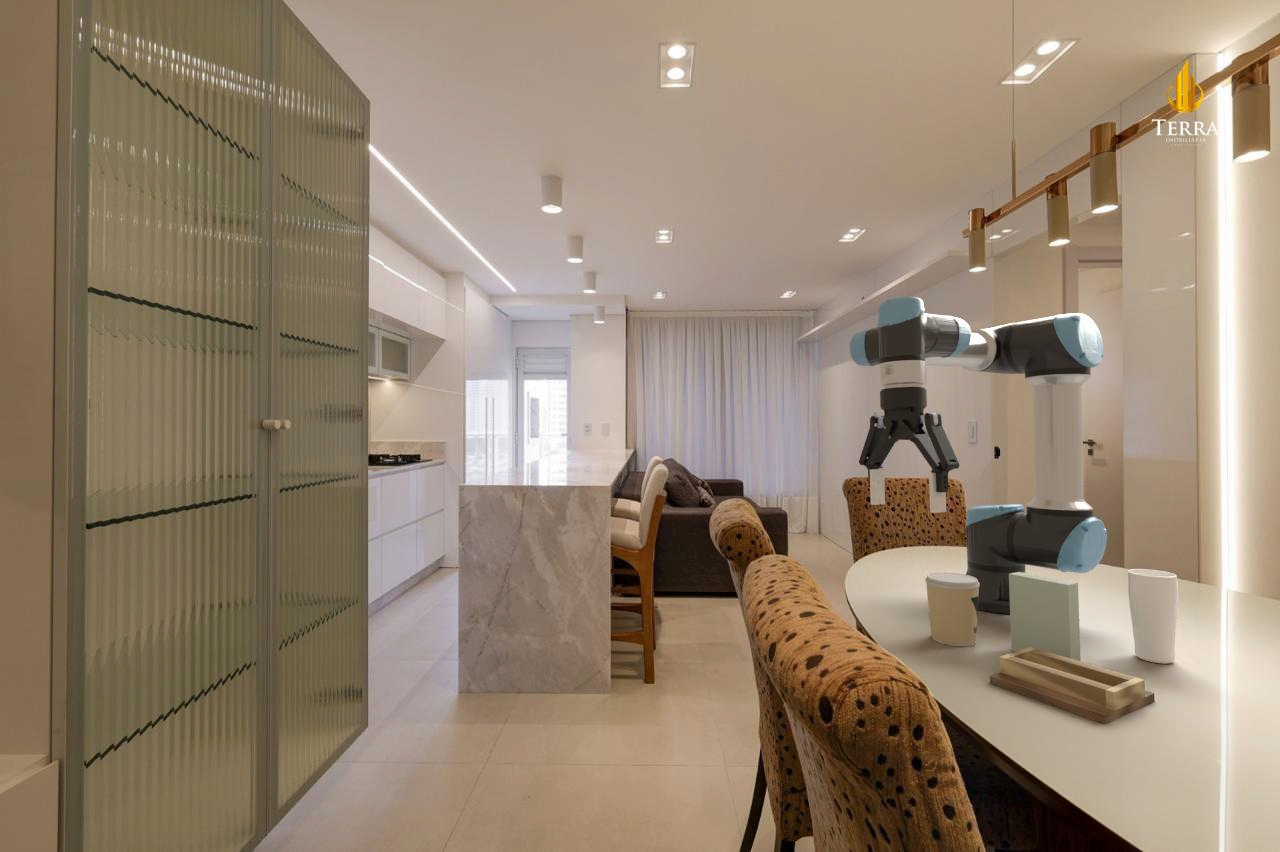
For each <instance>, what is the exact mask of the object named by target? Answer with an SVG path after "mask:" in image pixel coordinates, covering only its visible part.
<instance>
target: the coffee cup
mask: <svg viewBox="0 0 1280 852" xmlns="http://www.w3.org/2000/svg"><path fill="white" fill-rule="evenodd" d="M926 575H927V576H926V578H925V584H926V592H927V593H926V595H927V596H926V597H927V606H928V615H929V627H930V634H931V635H930V636H931V638H932V640H934V641H935V642H937V643H940V644H943V645H947V646H954V647H971V646H974V645H976V643H977V635H978V618H979V617H978V615H979V610H978V595H979V586H980V584H979V582H978V580H977V579H976V578H975V577H972V576H969V575H966V574H964V573H956V572H932V573H929V574H926Z"/></svg>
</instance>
